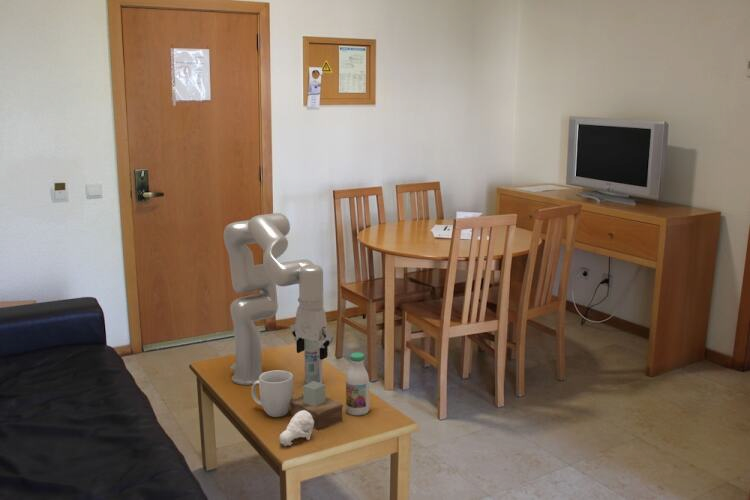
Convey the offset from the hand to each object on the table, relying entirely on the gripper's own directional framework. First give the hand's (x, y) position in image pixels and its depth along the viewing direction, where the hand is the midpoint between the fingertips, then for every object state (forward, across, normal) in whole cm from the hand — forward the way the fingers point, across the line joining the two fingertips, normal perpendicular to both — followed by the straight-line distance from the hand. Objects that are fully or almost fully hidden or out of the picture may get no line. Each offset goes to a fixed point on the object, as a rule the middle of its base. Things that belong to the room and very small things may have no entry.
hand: (311, 355), depth 232 cm
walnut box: (+22, +1, 0) cm, 22 cm away
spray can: (+23, -18, +22) cm, 36 cm away
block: (+16, +1, 0) cm, 16 cm away
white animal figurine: (+22, +6, -15) cm, 27 cm away
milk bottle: (+22, +9, +13) cm, 27 cm away
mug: (+22, -13, -4) cm, 26 cm away
